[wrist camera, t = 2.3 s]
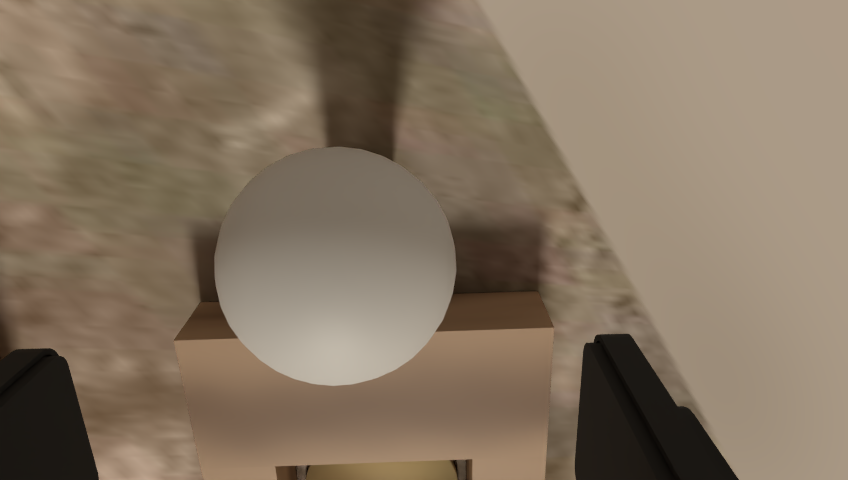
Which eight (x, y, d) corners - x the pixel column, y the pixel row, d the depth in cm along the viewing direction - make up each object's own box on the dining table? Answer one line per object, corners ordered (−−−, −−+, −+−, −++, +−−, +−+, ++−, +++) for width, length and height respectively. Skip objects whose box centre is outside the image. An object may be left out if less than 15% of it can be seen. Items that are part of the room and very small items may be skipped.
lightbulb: (384, 280, 24) (365, 479, 14) (252, 199, 23) (126, 356, 13) (473, 160, 23) (523, 290, 12) (335, 65, 21) (266, 123, 11)
